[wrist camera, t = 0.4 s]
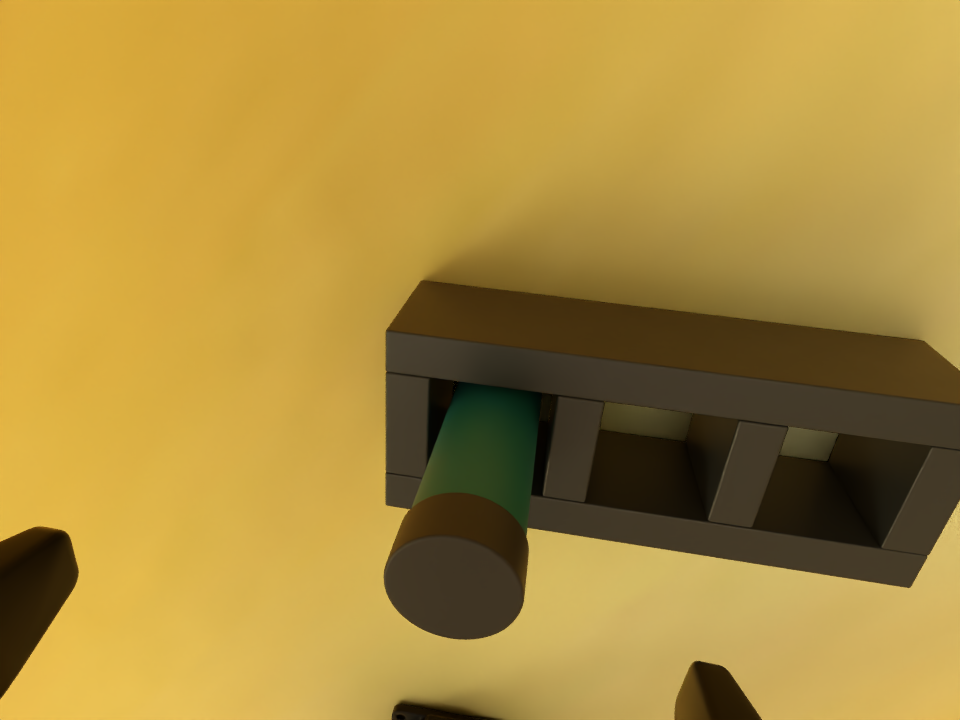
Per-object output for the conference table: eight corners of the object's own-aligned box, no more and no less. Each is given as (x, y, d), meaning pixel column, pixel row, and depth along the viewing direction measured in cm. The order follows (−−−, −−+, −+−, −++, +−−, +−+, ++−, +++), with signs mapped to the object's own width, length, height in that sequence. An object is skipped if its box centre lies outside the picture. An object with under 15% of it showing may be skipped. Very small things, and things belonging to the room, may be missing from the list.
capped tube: (541, 414, 23) (516, 651, 14) (460, 403, 24) (382, 628, 14) (551, 339, 22) (531, 550, 13) (464, 328, 22) (382, 525, 13)
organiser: (853, 496, 23) (910, 589, 19) (416, 433, 25) (385, 505, 21) (924, 340, 20) (1010, 411, 16) (420, 279, 22) (384, 330, 18)
